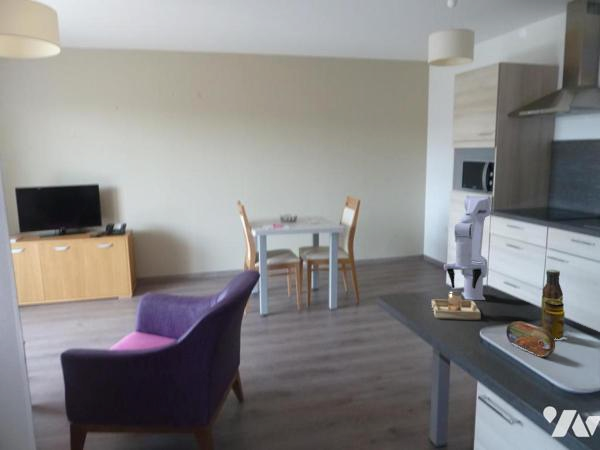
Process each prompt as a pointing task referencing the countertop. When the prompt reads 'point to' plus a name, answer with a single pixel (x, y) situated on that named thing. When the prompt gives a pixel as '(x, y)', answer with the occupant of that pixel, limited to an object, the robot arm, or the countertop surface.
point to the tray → (466, 313)
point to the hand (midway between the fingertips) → (463, 287)
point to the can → (454, 300)
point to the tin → (531, 338)
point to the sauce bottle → (552, 288)
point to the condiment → (554, 318)
